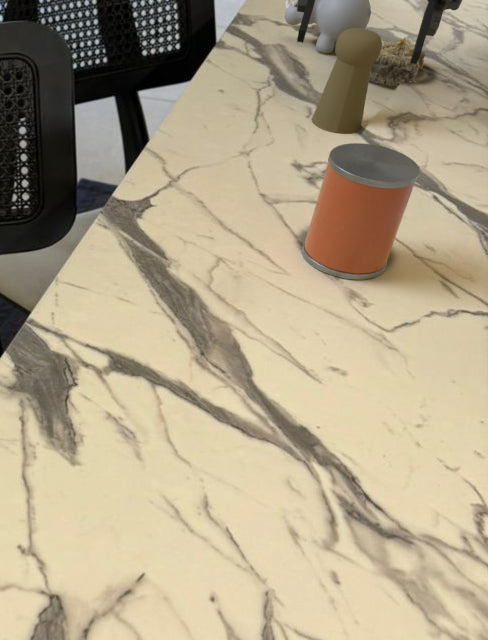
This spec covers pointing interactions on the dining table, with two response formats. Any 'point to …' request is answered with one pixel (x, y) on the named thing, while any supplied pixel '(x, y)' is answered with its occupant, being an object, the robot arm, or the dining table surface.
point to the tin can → (359, 210)
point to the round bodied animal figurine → (332, 19)
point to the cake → (395, 64)
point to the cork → (348, 82)
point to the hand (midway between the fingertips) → (357, 47)
